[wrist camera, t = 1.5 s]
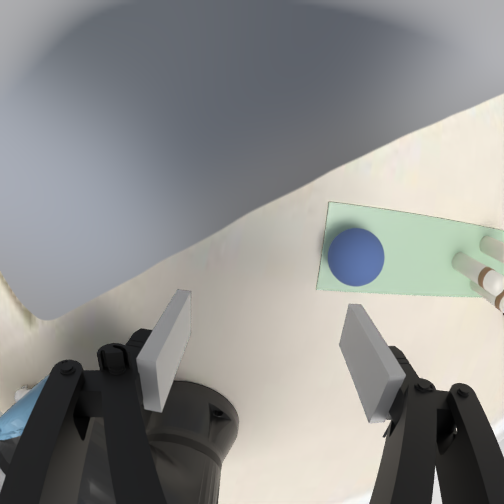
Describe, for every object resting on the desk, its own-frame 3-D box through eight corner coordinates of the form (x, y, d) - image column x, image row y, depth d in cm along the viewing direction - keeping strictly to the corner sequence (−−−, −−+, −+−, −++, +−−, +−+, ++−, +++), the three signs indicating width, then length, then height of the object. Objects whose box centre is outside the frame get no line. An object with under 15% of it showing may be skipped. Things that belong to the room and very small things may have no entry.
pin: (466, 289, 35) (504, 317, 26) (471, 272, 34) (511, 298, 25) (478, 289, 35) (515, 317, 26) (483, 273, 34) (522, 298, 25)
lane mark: (316, 289, 35) (316, 289, 35) (328, 201, 32) (329, 201, 32) (505, 297, 35) (506, 297, 35) (521, 234, 32) (522, 235, 32)
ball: (318, 272, 34) (329, 294, 29) (326, 220, 33) (340, 232, 27) (367, 276, 34) (386, 297, 29) (377, 225, 33) (398, 238, 27)
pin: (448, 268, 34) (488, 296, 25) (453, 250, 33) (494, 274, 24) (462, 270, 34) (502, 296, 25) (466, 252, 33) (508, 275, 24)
